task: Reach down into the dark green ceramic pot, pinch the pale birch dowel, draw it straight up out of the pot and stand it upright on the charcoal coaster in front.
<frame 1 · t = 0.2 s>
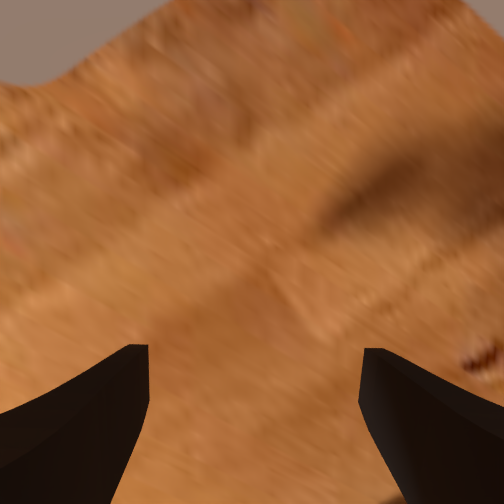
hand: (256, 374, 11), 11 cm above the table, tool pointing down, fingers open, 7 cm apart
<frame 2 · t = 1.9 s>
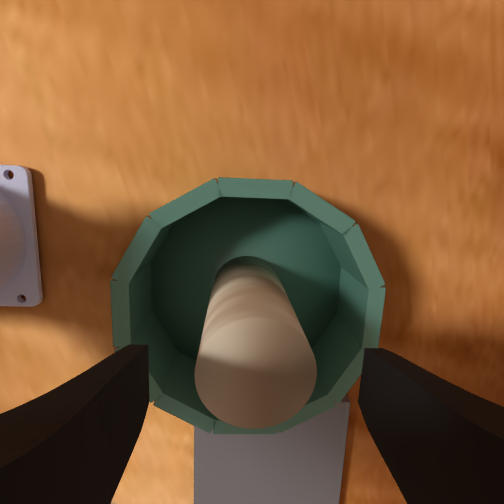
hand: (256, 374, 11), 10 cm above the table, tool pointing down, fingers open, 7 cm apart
green pot: (246, 284, 21), on the table
charcoal coaster: (268, 458, 23), on the table
birch dowel: (246, 288, 20), point 1 cm above the table, touching green pot
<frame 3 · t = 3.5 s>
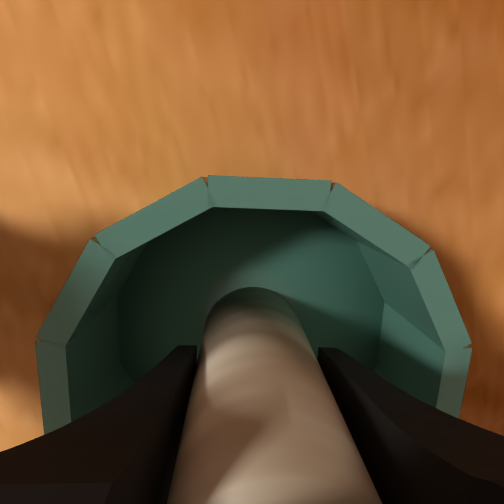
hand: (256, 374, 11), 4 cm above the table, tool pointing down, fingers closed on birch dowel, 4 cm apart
green pot: (251, 324, 15), on the table
birch dowel: (252, 332, 14), point 1 cm above the table, touching green pot, gripper
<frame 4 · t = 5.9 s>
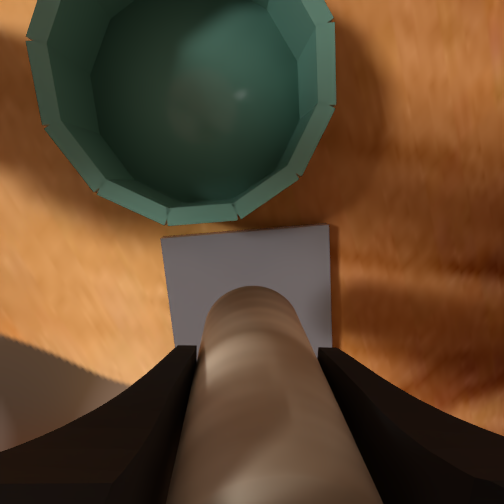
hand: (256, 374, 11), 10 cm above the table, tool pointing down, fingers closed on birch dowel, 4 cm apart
green pot: (199, 101, 19), on the table
charcoal coaster: (251, 306, 22), on the table
birch dowel: (252, 331, 14), point 7 cm above the table, touching gripper
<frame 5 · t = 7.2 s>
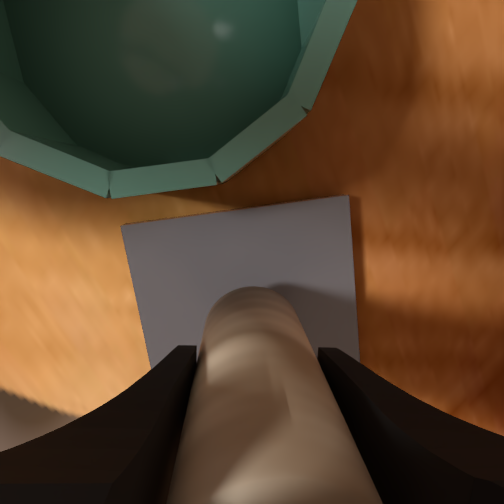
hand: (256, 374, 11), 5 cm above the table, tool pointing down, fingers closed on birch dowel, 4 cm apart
green pot: (161, 32, 14), on the table
charcoal coaster: (249, 310, 16), on the table
birch dowel: (252, 331, 14), point 2 cm above the table, touching gripper
when the fingers open (5 cm above the table, at t = 8.1 s): birch dowel drops 1 cm, resting on charcoal coaster.
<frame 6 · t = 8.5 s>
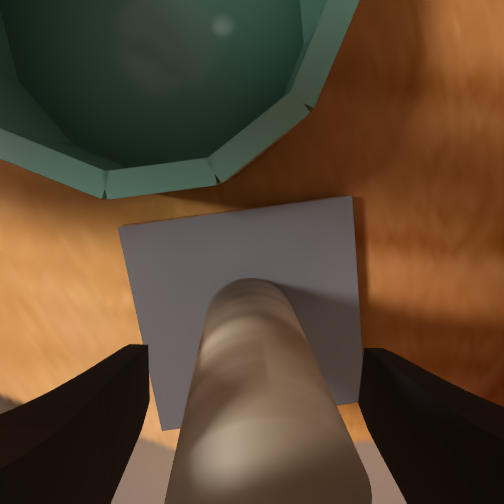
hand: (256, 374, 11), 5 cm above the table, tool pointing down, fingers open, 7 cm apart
green pot: (159, 28, 13), on the table
charcoal coaster: (250, 313, 16), on the table
birch dowel: (249, 320, 15), point 1 cm above the table, touching charcoal coaster
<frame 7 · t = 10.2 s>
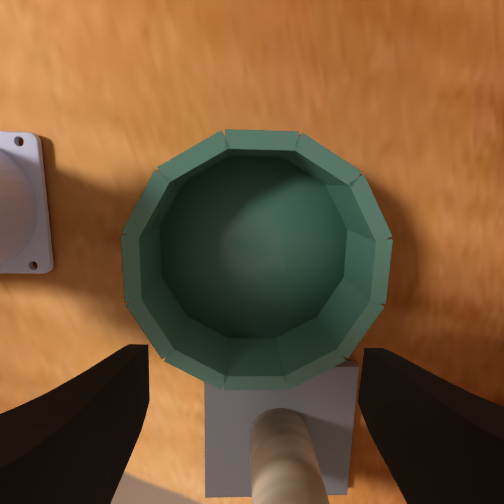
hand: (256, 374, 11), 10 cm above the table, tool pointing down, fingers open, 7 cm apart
green pot: (253, 249, 21), on the table
charcoal coaster: (278, 426, 23), on the table
birch dowel: (278, 434, 23), point 1 cm above the table, touching charcoal coaster
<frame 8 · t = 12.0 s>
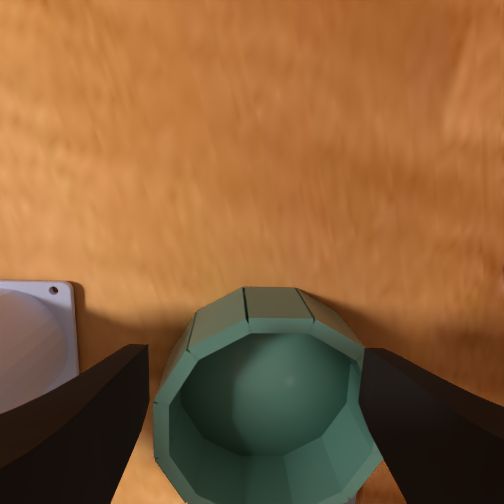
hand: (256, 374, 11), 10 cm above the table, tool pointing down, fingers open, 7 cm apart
green pot: (264, 376, 23), on the table
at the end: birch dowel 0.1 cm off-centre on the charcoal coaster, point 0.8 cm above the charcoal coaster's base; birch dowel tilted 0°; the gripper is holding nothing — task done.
